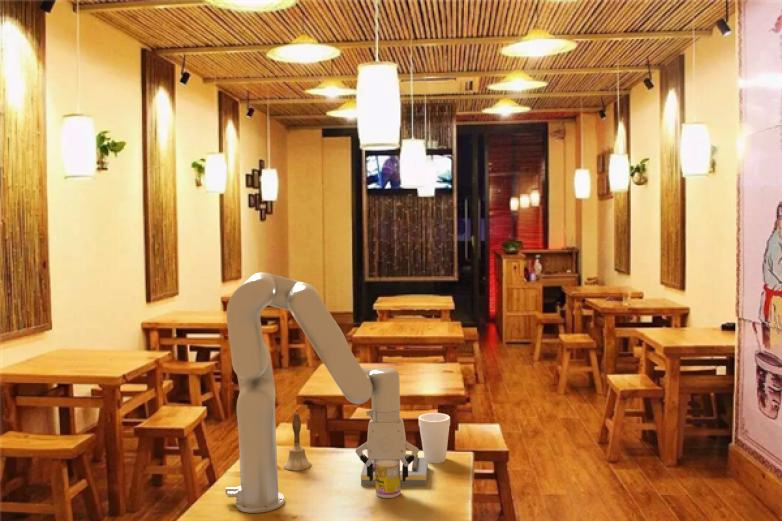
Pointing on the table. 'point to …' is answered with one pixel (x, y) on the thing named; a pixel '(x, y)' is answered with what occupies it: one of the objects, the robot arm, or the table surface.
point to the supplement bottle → (387, 478)
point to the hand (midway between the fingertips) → (387, 479)
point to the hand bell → (297, 449)
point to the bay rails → (414, 465)
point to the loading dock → (413, 476)
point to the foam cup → (434, 436)
